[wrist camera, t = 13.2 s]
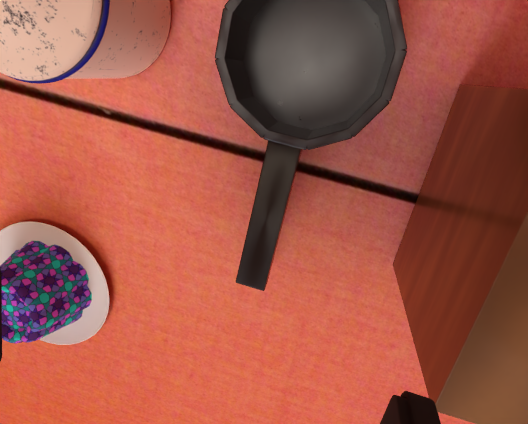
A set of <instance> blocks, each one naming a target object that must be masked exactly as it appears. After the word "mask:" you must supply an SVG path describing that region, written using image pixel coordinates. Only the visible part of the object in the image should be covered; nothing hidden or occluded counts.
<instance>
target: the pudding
mask: <svg viewBox="0 0 528 424" xmlns="http://www.w3.org/2000/svg"><path fill="white" fill-rule="evenodd" d="M0 269H1V280H2V338H3V339H4V340H5V341H8V342H10V343H20V342H32V341H36V340H38V339H39V340H42V341H45V342H48V343H53V344H58V345H70V344H76V343H80V342H82V341H85V340H87V339H89V338H90V337H92V336H93V335H95V334H96V333H97V332H98V331H99V330H100V329H101V327H102V325H103V324H104V322H105V320H106V317H107V314H108V310H109V290H108V286H107V282H106V279H105V276H104V274H103V272H102V270H101V268H100V266H99V264H98V263H97V261H96V260H95V258H94V257H93V255H92V254H91V253H90V252H89V251H88V250H87V248H86V247H85V246H84V245H82V244H81V243H80V242H79V241H78V240H77V239H76V238H74V237H73V236H71V235H70V234H68V233H67V232H65V231H63V230H61V229H59V228H57V227H55V226H51V225H48V224H45V223H40V222H32V221H30V222H19V223H15V224H12V225H9V226H7V227H6V228H4V229H2V230H1V231H0Z"/></svg>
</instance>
